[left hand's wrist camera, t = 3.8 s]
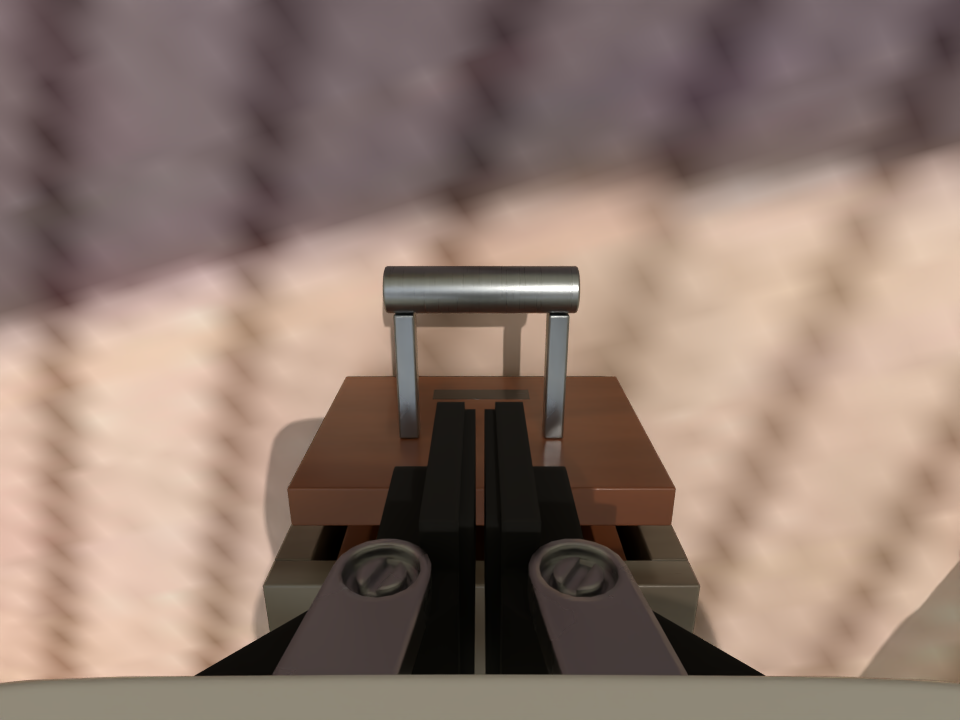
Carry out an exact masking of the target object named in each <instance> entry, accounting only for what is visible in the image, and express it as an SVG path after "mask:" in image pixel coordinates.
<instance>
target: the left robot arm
mask: <svg viewBox="0 0 960 720" xmlns="http://www.w3.org/2000/svg"><path fill="white" fill-rule="evenodd" d="M475 582H476V409H465V402H437V406H436V412H435V419H434V425H433V432H432V438H431V445H430V451H429V458H428V465H427V466H395V467H394V470H393V474H392V478H391V482H390V486H389V490H388V494H387V498H386V502H385V506H384V510H383V514H382V518H381V522H380V526H379V530H378V534H377V538H376V540H373V541H367V542H364V543H362V544H359V545H357V546H354V547H352V548H351V549H349V550H348V551H347V552H345V553H344V554H342V555H341V556H340V557H339V559H338V560H337V561H336V562H335V564H334V565H333V567H332V568H331V570H330V572H329V574H328V576H327V577H326V579H325V581H324V583H323V585H322V586H321V588H320V590H319V592H318V593H317V595H316V597H315V599H314V601H313V602H312V604H311V606H310V608H309V610H307V611H306V612H304V613H302V614H300V615H299V616H297V617H295V618H293V619H292V620H290V621H288V622H287V623H285V624H283V625H281V626H280V627H278V628H276V629H274V630H273V631H271V632H269V633H268V634H266V635H264V636H262V637H261V638H259V639H257V640H255V641H254V642H252V643H250V644H249V645H247V646H245V647H243V648H242V649H240V650H238V651H236V652H235V653H233V654H231V655H230V656H228V657H226V658H224V659H223V660H221V661H219V662H217V663H216V664H214V665H212V666H211V667H209V668H207V669H205V670H204V671H202V672H200V673H198V674H197V675H195V676H136V677H97V678H70V679H43V680H24V681H14V682H5V683H0V720H960V683H955V682H946V681H936V680H917V679H890V678H863V677H828V676H765V675H763V674H762V673H760V672H758V671H756V670H755V669H753V668H751V667H749V666H748V665H746V664H744V663H743V662H741V661H739V660H737V659H736V658H734V657H732V656H730V655H729V654H727V653H725V652H724V651H722V650H720V649H718V648H717V647H715V646H713V645H711V644H710V643H708V642H706V641H705V640H703V639H701V638H699V637H698V636H696V635H694V634H692V633H691V632H689V631H687V630H686V629H684V628H682V627H680V626H679V625H677V624H675V623H673V622H672V621H670V620H668V619H667V618H665V617H663V616H661V615H660V614H658V613H656V612H654V611H653V610H651V608H650V606H649V604H648V602H647V601H646V599H645V597H644V595H643V593H642V592H641V590H640V588H639V586H638V585H637V583H636V581H635V579H634V577H633V576H632V574H631V572H630V570H629V568H628V567H627V565H626V564H625V562H624V561H623V560H622V559H621V557H620V556H619V555H618V554H616V553H615V552H613V551H612V550H611V549H609V548H608V547H606V546H603V545H601V544H598V543H596V542H593V541H588V540H584V538H583V534H582V530H581V526H580V522H579V518H578V514H577V510H576V506H575V502H574V498H573V494H572V490H571V486H570V482H569V478H568V474H567V470H566V467H565V466H533V465H532V458H531V451H530V445H529V438H528V432H527V425H526V419H525V412H524V406H523V402H495V409H484V582H485V675H475Z"/></svg>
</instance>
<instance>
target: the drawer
mask: <svg viewBox="0 0 960 720" xmlns="http://www.w3.org/2000/svg"><path fill="white" fill-rule="evenodd" d="M579 300H580V276H579V270H578V268H577V267H576V266H387V267H385V270H384V274H383V301H384V307H385V310H386V312H387V313H395V314H394V317H393V319H394V339H395V358H396V377H346V378H345V380H344V382H343V384H342V386H341V388H340V390H339V392H338V394H337V395H336V397H335V399H334V401H333V403H332V405H331V407H330V409H329V411H328V412H327V414H326V416H325V418H324V420H323V422H322V424H321V426H320V428H319V430H318V431H317V433H316V435H315V437H314V439H313V441H312V443H311V445H310V447H309V449H308V450H307V452H306V454H305V456H304V458H303V460H302V462H301V464H300V466H299V467H298V469H297V471H296V473H295V475H294V477H293V479H292V481H291V483H290V485H289V486H288V489H287V490H288V498H289V506H290V514H291V522H292V525H294V526H348V527H347V530H346V533H345V536H344V539H343V542H342V545H341V548H340V551H339V554H338V557H337V560H338V559H339V557H340V556H341V555H342V554H344V553H345V552H347V551H348V550H349V549H351V548H352V547H354V546H357V545H359V544H362V543H364V542H367V541H373V540H376V538H377V534H378V530H379V526H380V522H381V518H382V514H383V510H384V506H385V502H386V498H387V494H388V490H389V486H390V482H391V478H392V474H393V470H394V467H395V466H427V465H428V458H429V451H430V445H431V438H432V432H433V425H434V419H435V412H436V406H437V402H465V409H476V561H484V409H495V402H523V406H524V412H525V419H526V425H527V432H528V438H529V445H530V451H531V458H532V465H533V466H565V467H566V470H567V474H568V478H569V482H570V486H571V490H572V494H573V498H574V502H575V506H576V510H577V514H578V518H579V522H580V526H581V530H582V534H583V538H584V540H588V541H593V542H596V543H598V544H601V545H603V546H606V547H608V548H609V549H611V550H612V551H613V552H615V553H616V554H618V555H619V556H620V557H621V559H622V560H623V561H627V560H626V557H625V554H624V551H623V548H622V545H621V542H620V539H619V536H618V533H617V530H616V527H615V526H669V525H671V522H672V514H673V506H674V498H675V490H676V489H675V486H674V484H673V483H672V481H671V479H670V477H669V475H668V473H667V471H666V469H665V468H664V466H663V464H662V462H661V460H660V458H659V456H658V455H657V453H656V451H655V449H654V447H653V445H652V443H651V441H650V440H649V438H648V436H647V434H646V432H645V430H644V428H643V426H642V425H641V423H640V421H639V419H638V417H637V415H636V413H635V412H634V410H633V408H632V406H631V404H630V402H629V400H628V398H627V397H626V395H625V393H624V391H623V389H622V387H621V385H620V383H619V382H618V380H617V378H616V377H566V373H567V354H568V334H569V315H568V313H576V312H577V310H578V307H579ZM416 313H547V318H546V344H545V370H544V377H418V352H417V325H416ZM337 560H336V561H337Z"/></svg>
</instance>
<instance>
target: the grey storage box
mask: <svg viewBox="0 0 960 720" xmlns="http://www.w3.org/2000/svg"><path fill="white" fill-rule="evenodd" d="M347 527H348V526H294V525H292V524H291V527H290V529H289V531H288V533H287V535H286V537H285V539H284V541H283V544H282V546H281V548H280V550H279V552H278V554H277V556H276V558H275V562H274V563H273V565H272V568H271V570H270V572H269V574H268V576H267V578H266V580H265V582H264V585H263V589H264V596H265V602H266V609H267V615H268V622H269V629H270V632H271V631H273V630H274V629H276V628H278V627H280V626H281V625H283V624H285V623H287V622H288V621H290V620H292V619H293V618H295V617H297V616H299V615H300V614H302V613H304V612H306V611H307V610H309V608H310V606H311V604H312V602H313V601H314V599H315V597H316V595H317V593H318V592H319V590H320V588H321V586H322V585H323V583H324V581H325V579H326V577H327V576H328V574H329V572H330V570H331V568H332V567H333V565H334V564H335V562H336V560H337V557H338V554H339V551H340V548H341V545H342V542H343V539H344V536H345V533H346V530H347ZM615 527H616V530H617V533H618V536H619V539H620V542H621V545H622V548H623V551H624V554H625V557H626V560H627V561H624V562H625V564H626V565H627V567H628V568H629V570H630V572H631V574H632V576H633V577H634V579H635V581H636V583H637V585H638V586H639V588H640V590H641V592H642V593H643V595H644V597H645V599H646V601H647V602H648V604H649V606H650V608H651V610H653V611H654V612H656V613H658V614H660V615H661V616H663V617H665V618H667V619H668V620H670V621H672V622H673V623H675V624H677V625H679V626H680V627H682V628H684V629H686V630H687V631H689V632H691V633H692V634H693V629H694V623H695V616H696V609H697V603H698V596H699V590H700V584H699V582H698V580H697V578H696V576H695V574H694V572H693V570H692V567H691V565H690V563H689V562H688V559H687V557H686V554H685V552H684V550H683V548H682V546H681V544H680V542H679V540H678V538H677V536H676V533H675V531H674V529H673V527H672V525H669V526H615ZM475 675H485V582H484V561H476V582H475Z"/></svg>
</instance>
